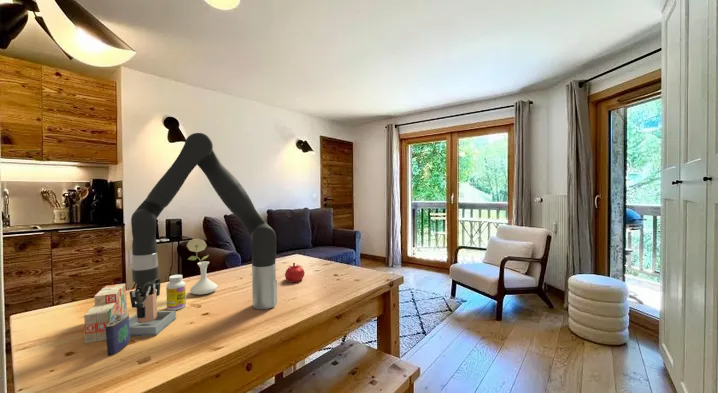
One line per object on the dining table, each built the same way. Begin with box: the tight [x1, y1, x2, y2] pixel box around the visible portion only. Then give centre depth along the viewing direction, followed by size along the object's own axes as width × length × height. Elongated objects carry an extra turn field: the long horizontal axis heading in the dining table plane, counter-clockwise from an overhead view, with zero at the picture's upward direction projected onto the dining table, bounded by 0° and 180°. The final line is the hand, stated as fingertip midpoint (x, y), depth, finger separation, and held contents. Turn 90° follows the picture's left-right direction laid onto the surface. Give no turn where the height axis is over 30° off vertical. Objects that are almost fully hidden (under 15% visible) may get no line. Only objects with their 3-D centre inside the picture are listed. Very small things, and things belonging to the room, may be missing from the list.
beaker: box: [135, 291, 158, 323], centre depth 110 cm, size 6×6×9 cm
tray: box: [129, 310, 177, 338], centre depth 110 cm, size 13×13×3 cm
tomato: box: [284, 262, 306, 283], centre depth 162 cm, size 10×10×9 cm
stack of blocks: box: [83, 283, 128, 344], centre depth 110 cm, size 21×6×12 cm, turn 24°
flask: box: [105, 313, 131, 357], centre depth 96 cm, size 9×3×11 cm, turn 8°
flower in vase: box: [186, 238, 218, 295], centre depth 144 cm, size 13×11×25 cm
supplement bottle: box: [166, 274, 187, 311], centre depth 127 cm, size 7×7×13 cm
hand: (146, 313), depth 110 cm, fingers closed on beaker, 5 cm apart
